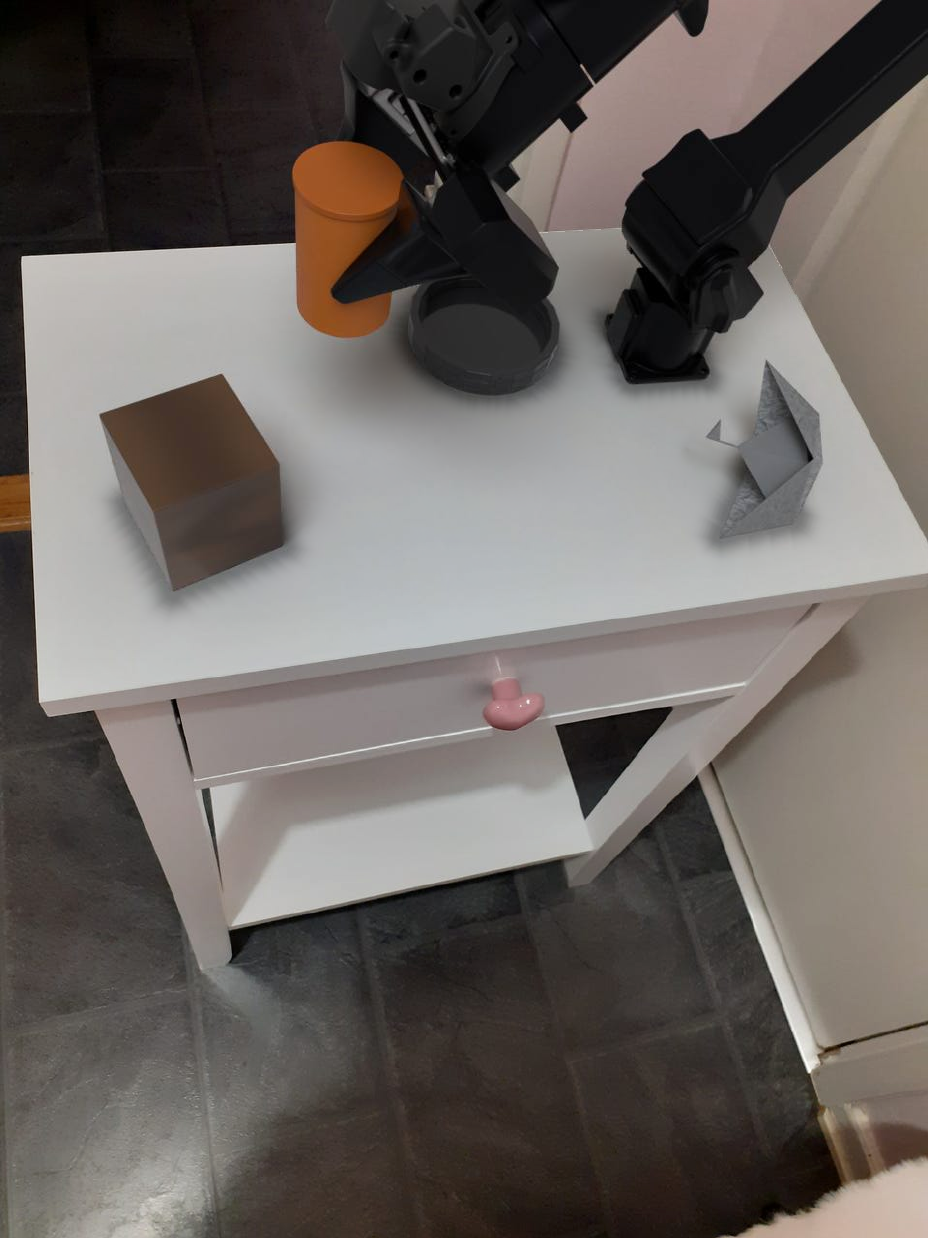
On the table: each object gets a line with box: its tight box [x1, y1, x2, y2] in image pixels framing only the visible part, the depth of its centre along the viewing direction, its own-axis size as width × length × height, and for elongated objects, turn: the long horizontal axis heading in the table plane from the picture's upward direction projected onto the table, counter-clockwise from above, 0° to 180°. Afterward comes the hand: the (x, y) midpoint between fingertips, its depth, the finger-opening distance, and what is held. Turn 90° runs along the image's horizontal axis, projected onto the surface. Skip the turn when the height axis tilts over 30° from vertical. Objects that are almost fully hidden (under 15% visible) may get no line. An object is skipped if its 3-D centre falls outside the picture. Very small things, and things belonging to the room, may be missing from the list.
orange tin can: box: [291, 141, 405, 339], centre depth 48 cm, size 5×5×8 cm
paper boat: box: [705, 359, 824, 539], centre depth 61 cm, size 12×6×9 cm
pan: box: [407, 275, 561, 396], centre depth 66 cm, size 11×11×2 cm
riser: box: [98, 373, 284, 592], centre depth 52 cm, size 7×7×8 cm
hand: (320, 261), depth 48 cm, fingers closed on orange tin can, 5 cm apart
